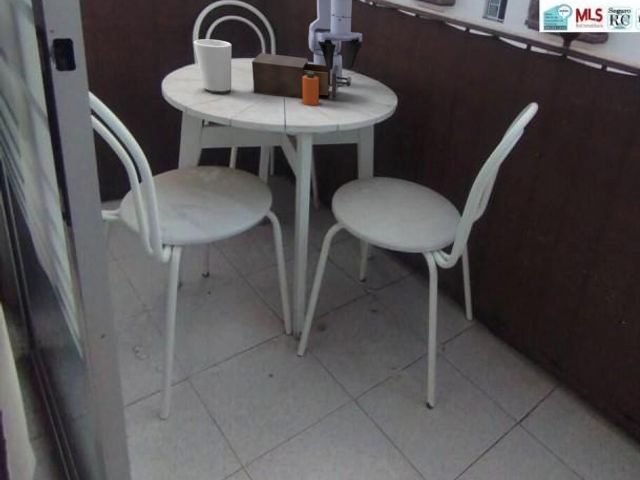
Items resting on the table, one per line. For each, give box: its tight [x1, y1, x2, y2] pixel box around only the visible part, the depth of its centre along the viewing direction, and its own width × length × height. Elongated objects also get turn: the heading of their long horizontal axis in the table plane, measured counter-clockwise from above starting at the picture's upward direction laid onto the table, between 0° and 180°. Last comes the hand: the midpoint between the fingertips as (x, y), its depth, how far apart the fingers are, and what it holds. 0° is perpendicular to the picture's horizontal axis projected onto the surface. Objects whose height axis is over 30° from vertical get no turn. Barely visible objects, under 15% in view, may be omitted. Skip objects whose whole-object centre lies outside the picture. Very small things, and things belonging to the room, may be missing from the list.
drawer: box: [303, 62, 352, 99], centre depth 158 cm, size 18×12×7 cm
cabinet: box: [251, 52, 309, 99], centre depth 156 cm, size 15×14×9 cm
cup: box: [193, 38, 232, 95], centre depth 146 cm, size 10×10×13 cm
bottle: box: [302, 72, 320, 106], centre depth 148 cm, size 5×5×8 cm
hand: (339, 68), depth 151 cm, fingers open, 7 cm apart
